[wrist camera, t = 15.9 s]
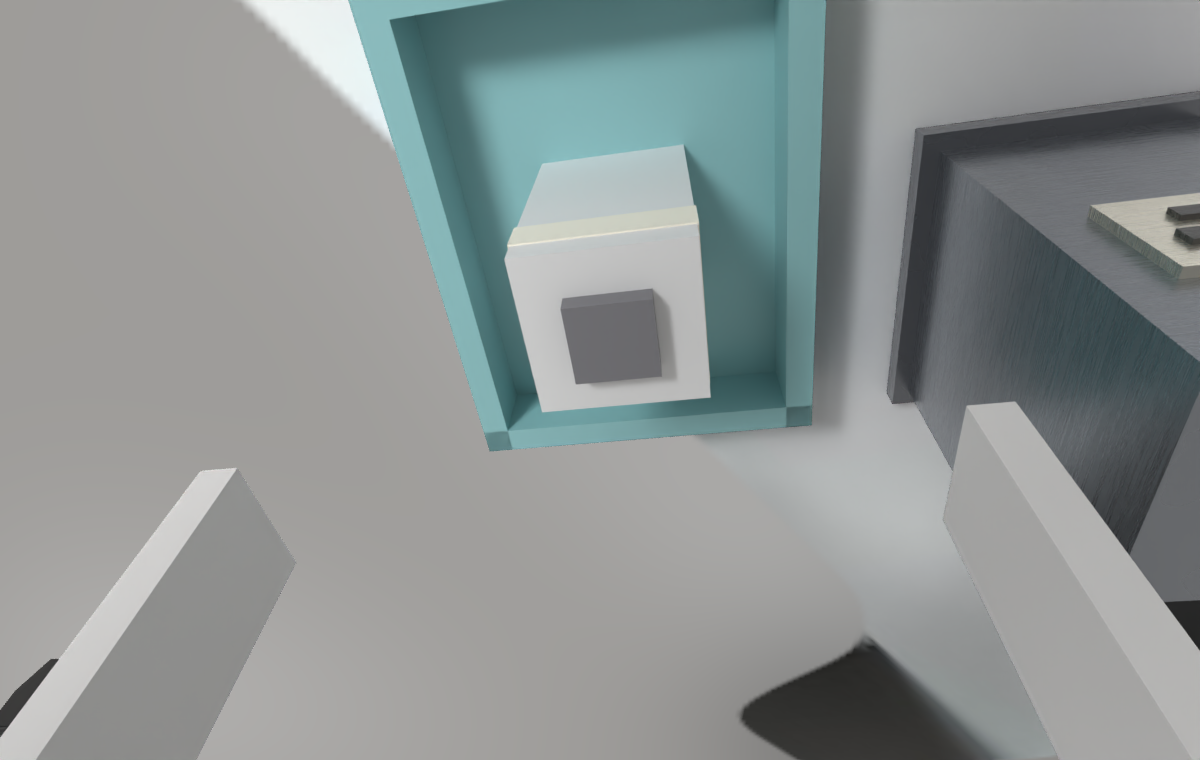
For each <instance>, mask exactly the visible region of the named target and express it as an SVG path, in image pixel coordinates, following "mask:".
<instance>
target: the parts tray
mask: <svg viewBox="0 0 1200 760" xmlns="http://www.w3.org/2000/svg"><path fill="white" fill-rule="evenodd" d="M348 1H349V4H350V7H351V10H352V13H353V17H354V20H355V23H356V26H357V29H358V33H359V36H360V39H361V42H362V45H363V48H364V52H365V55H366V58H367V61H368V64H369V68H370V71H371V74H372V77H373V80H374V83H375V87H376V90H377V93H378V96H379V99H380V103H381V106H382V109H383V112H384V115H385V119H386V122H387V125H388V128H389V131H390V134H391V138H392V141H393V144H394V147H395V150H396V154H397V157H398V160H399V163H400V166H401V169H402V173H403V176H404V179H405V182H406V185H407V188H408V192H409V195H410V198H411V201H412V205H413V208H414V211H415V214H416V217H417V221H418V224H419V227H420V230H421V233H422V236H423V240H424V242H425V246H426V249H427V252H428V256H429V259H430V262H431V265H432V268H433V271H434V274H435V278H436V281H437V284H438V287H439V291H440V293H441V297H442V300H443V303H444V307H445V310H446V313H447V316H448V319H449V322H450V325H451V329H452V332H453V335H454V338H455V341H456V345H457V348H458V351H459V354H460V358H461V361H462V364H463V367H464V370H465V373H466V377H467V380H468V383H469V386H470V389H471V392H472V396H473V399H474V402H475V405H476V409H477V412H478V415H479V418H480V421H481V425H482V428H483V431H484V434H485V437H486V440H487V444H488V447H489V450H490V451H500V450H512V449H524V448H537V447H549V446H562V445H574V444H586V443H598V442H611V441H623V440H636V439H648V438H660V437H673V436H684V435H698V434H710V433H722V432H735V431H747V430H759V429H772V428H784V427H796V426H809V425H812V399H813V369H814V340H815V311H816V282H817V252H818V223H819V194H820V165H821V135H822V106H823V77H824V48H825V18H826V0H348ZM683 144H684V150H685V156H686V162H687V168H688V173H689V179H690V185H691V191H692V197H693V203H694V205H696V208H697V214H698V219H699V230H700V244H701V258H702V272H703V286H704V300H705V315H706V329H707V343H708V357H709V371H710V394H711V397H710V398H699V399H688V400H676V401H665V402H654V403H642V404H631V405H620V406H608V407H597V408H586V409H575V410H563V411H552V412H542V410H541V406H540V402H539V398H538V394H537V390H536V386H535V382H534V378H533V374H532V370H531V365H530V361H529V357H528V353H527V349H526V345H525V341H524V337H523V333H522V329H521V325H520V321H519V317H518V313H517V309H516V305H515V301H514V297H513V293H512V289H511V285H510V281H509V277H508V273H507V269H506V265H505V261H504V258H505V256H506V253H507V251H508V247H507V244H508V241H509V239H510V236H511V234H512V231H513V229H514V228H516V227H517V226H518V223H519V221H520V218H521V216H522V213H523V211H524V208H525V206H526V203H527V200H528V198H529V195H530V193H531V190H532V188H533V185H534V183H535V180H536V178H537V175H538V173H539V170H540V168H541V165H542V164H544V163H551V162H559V161H566V160H573V159H581V158H588V157H595V156H603V155H610V154H617V153H625V152H632V151H639V150H647V149H654V148H661V147H669V146H676V145H683Z"/></svg>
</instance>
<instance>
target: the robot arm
mask: <svg viewBox="0 0 1200 760" xmlns="http://www.w3.org/2000/svg"><path fill="white" fill-rule="evenodd" d="M943 521H944V523H945V525H946V527H947V529H948V531H949V533H950V535H951V537H952V540H953V542H954V544H955V546H956V548H957V550H958V552H959V554H960V556H961V558H962V560H963V562H964V564H965V566H966V568H967V570H968V573H969V575H970V577H971V579H972V581H973V583H974V585H975V587H976V589H977V591H978V593H979V595H980V597H981V599H982V601H983V603H984V605H985V608H986V610H987V612H988V614H989V616H990V618H991V620H992V622H993V624H994V626H995V628H996V630H997V632H998V634H999V636H1000V638H1001V641H1002V643H1003V645H1004V647H1005V649H1006V651H1007V653H1008V655H1009V657H1010V659H1011V661H1012V663H1013V665H1014V667H1015V669H1016V671H1017V673H1018V676H1019V678H1020V680H1021V682H1022V684H1023V686H1024V688H1025V690H1026V692H1027V694H1028V696H1029V698H1030V700H1031V702H1032V704H1033V706H1034V709H1035V711H1036V713H1037V715H1038V717H1039V719H1040V721H1041V723H1042V725H1043V727H1044V729H1045V731H1046V733H1047V735H1048V737H1049V739H1050V741H1051V744H1052V746H1053V748H1054V750H1055V752H1056V754H1057V756H1058V758H1059V760H1200V600H1194V601H1174V602H1163V600H1162V599H1161V598H1160V596H1159V595H1158V594H1157V592H1156V591H1155V590H1154V588H1153V587H1152V585H1151V584H1150V583H1149V581H1148V580H1147V579H1146V577H1145V576H1144V575H1143V573H1142V572H1141V571H1140V569H1139V568H1138V567H1137V565H1136V564H1135V562H1134V561H1133V560H1132V558H1131V557H1130V556H1129V554H1128V553H1127V552H1126V550H1125V549H1124V548H1123V546H1122V545H1121V544H1120V542H1119V541H1118V539H1117V538H1116V537H1115V535H1114V534H1113V533H1112V531H1111V530H1110V529H1109V527H1108V526H1107V525H1106V523H1105V522H1104V521H1103V519H1102V518H1101V516H1100V515H1099V514H1098V512H1097V511H1096V510H1095V508H1094V507H1093V506H1092V504H1091V503H1090V502H1089V500H1088V499H1087V498H1086V496H1085V495H1084V493H1083V492H1082V491H1081V489H1080V488H1079V487H1078V485H1077V484H1076V483H1075V481H1074V480H1073V479H1072V477H1071V476H1070V475H1069V473H1068V472H1067V471H1066V469H1065V468H1064V466H1063V465H1062V464H1061V462H1060V461H1059V460H1058V458H1057V457H1056V456H1055V454H1054V453H1053V452H1052V450H1051V449H1050V448H1049V446H1048V445H1047V443H1046V442H1045V441H1044V439H1043V438H1042V437H1041V435H1040V434H1039V433H1038V431H1037V430H1036V429H1035V427H1034V426H1033V425H1032V423H1031V422H1030V420H1029V419H1028V418H1027V416H1026V415H1025V414H1024V412H1023V411H1022V410H1021V408H1020V407H1019V406H1018V404H1017V403H1016V402H1003V403H991V404H980V405H968V406H966V410H965V415H964V420H963V425H962V429H961V434H960V439H959V444H958V449H957V454H956V458H955V463H954V468H953V473H952V478H951V483H950V488H949V492H948V497H947V502H946V507H945V512H944V517H943ZM295 564H296V561H295V559H294V558H293V556H292V555H291V553H290V551H289V550H288V548H287V547H286V545H285V543H284V542H283V540H282V539H281V537H280V535H279V534H278V532H277V531H276V529H275V527H274V526H273V524H272V523H271V521H270V520H269V518H268V516H267V515H266V513H265V511H264V510H263V508H262V507H261V505H260V504H259V502H258V500H257V498H256V497H255V495H254V494H253V492H252V491H251V489H250V487H249V486H248V484H247V482H246V481H245V479H244V478H243V476H242V474H241V473H240V471H239V470H238V468H230V469H219V470H207V471H200V472H199V474H198V475H197V476H196V478H195V479H194V480H193V482H192V483H191V485H190V486H189V487H188V488H187V490H186V491H185V492H184V494H183V495H182V496H181V498H180V499H179V500H178V502H177V503H176V504H175V506H174V507H173V508H172V510H171V511H170V512H169V514H168V515H167V516H166V518H165V519H164V520H163V522H162V523H161V524H160V526H159V527H158V528H157V530H156V531H155V532H154V534H153V535H152V536H151V538H150V539H149V540H148V542H147V543H146V544H145V546H144V547H143V548H142V550H141V551H140V552H139V554H138V555H137V556H136V558H135V559H134V560H133V562H132V563H131V564H130V566H129V567H128V568H127V570H126V571H125V572H124V574H123V575H122V576H121V578H120V579H119V580H118V582H117V583H116V584H115V586H114V587H113V588H112V590H111V591H110V592H109V594H108V595H107V596H106V597H105V599H104V600H103V602H102V603H101V604H100V606H99V607H98V608H97V609H96V611H95V612H94V614H93V615H92V616H91V617H90V619H89V620H88V621H87V623H86V624H85V625H84V627H83V628H82V629H81V631H80V632H79V633H78V635H77V636H76V638H75V639H74V640H73V641H72V643H71V644H70V646H69V647H68V648H67V649H66V651H65V652H64V654H63V655H62V656H61V657H60V659H51V660H49V661H48V662H47V663H46V664H45V665H44V666H43V667H42V668H40V669H39V670H38V671H37V672H36V673H35V674H34V675H33V676H32V677H30V678H29V679H28V680H27V681H26V682H25V683H24V684H22V685H21V686H20V687H19V688H18V689H17V690H16V691H15V692H14V693H13V694H12V696H11V697H10V698H9V700H8V701H7V702H6V703H5V705H4V706H3V707H2V709H1V710H0V760H196V759H197V758H198V756H199V754H200V751H201V750H202V748H203V746H204V744H205V742H206V740H207V738H208V736H209V734H210V732H211V730H212V728H213V726H214V724H215V722H216V720H217V718H218V716H219V714H220V712H221V710H222V708H223V706H224V704H225V702H226V700H227V698H228V696H229V694H230V692H231V690H232V688H233V686H234V684H235V682H236V680H237V679H238V677H239V674H240V672H241V671H242V669H243V667H244V665H245V663H246V661H247V659H248V657H249V655H250V653H251V651H252V649H253V647H254V645H255V643H256V641H257V639H258V637H259V635H260V633H261V631H262V629H263V627H264V625H265V623H266V621H267V619H268V617H269V615H270V613H271V611H272V609H273V608H274V605H275V603H276V601H277V600H278V597H279V596H280V594H281V592H282V590H283V588H284V586H285V584H286V582H287V580H288V578H289V576H290V574H291V572H292V570H293V568H294V566H295Z"/></svg>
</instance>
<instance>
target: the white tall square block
mask: <svg viewBox="0 0 1200 760" xmlns="http://www.w3.org/2000/svg"><path fill="white" fill-rule="evenodd" d="M507 247H508V251H507V253H506V256H505V258H504V261H505V265H506V269H507V273H508V277H509V281H510V285H511V289H512V293H513V297H514V301H515V305H516V309H517V313H518V317H519V321H520V325H521V329H522V333H523V337H524V341H525V345H526V349H527V353H528V357H529V361H530V365H531V370H532V374H533V378H534V382H535V386H536V390H537V394H538V398H539V402H540V406H541V410H542V412H552V411H563V410H575V409H586V408H597V407H608V406H620V405H631V404H642V403H654V402H665V401H676V400H688V399H699V398H710V397H711V394H710V371H709V357H708V343H707V329H706V315H705V300H704V286H703V272H702V258H701V244H700V230H699V219H698V214H697V208H696V205H694V203H693V197H692V191H691V185H690V179H689V173H688V168H687V162H686V156H685V150H684V144H683V145H676V146H669V147H661V148H654V149H647V150H639V151H632V152H625V153H617V154H610V155H603V156H595V157H588V158H581V159H573V160H566V161H559V162H551V163H544V164H542V165H541V168H540V170H539V173H538V175H537V178H536V180H535V183H534V185H533V188H532V190H531V193H530V195H529V198H528V200H527V203H526V206H525V208H524V211H523V213H522V216H521V218H520V221H519V223H518V226H517V227H516V228H514V229H513V231H512V234H511V236H510V239H509V241H508V244H507Z"/></svg>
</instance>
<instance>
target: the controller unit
mask: <svg viewBox="0 0 1200 760" xmlns="http://www.w3.org/2000/svg"><path fill="white" fill-rule="evenodd" d="M887 394H888V396H889V398H890V400H891V402H892V404H896V403H908V402H915V404H916V405H917V407H918V409H919V411H920V413H921V415H922V416H923V418H924V420H925V422H926V424H927V425H928V427H929V429H930V431H931V433H932V434H933V436H934V438H935V440H936V442H937V444H938V445H939V447H940V449H941V451H942V453H943V454H944V456H945V458H946V460H947V462H948V464H949V465H950V467H951V469H952V471H953V468H954V463H955V458H956V454H957V449H958V444H959V439H960V434H961V429H962V425H963V420H964V415H965V410H966V406H968V405H980V404H991V403H1003V402H1016V403H1017V404H1018V406H1019V407H1020V408H1021V410H1022V411H1023V412H1024V414H1025V415H1026V416H1027V418H1028V419H1029V420H1030V422H1031V423H1032V425H1033V426H1034V427H1035V429H1036V430H1037V431H1038V433H1039V434H1040V435H1041V437H1042V438H1043V439H1044V441H1045V442H1046V443H1047V445H1048V446H1049V448H1050V449H1051V450H1052V452H1053V453H1054V454H1055V456H1056V457H1057V458H1058V460H1059V461H1060V462H1061V464H1062V465H1063V466H1064V468H1065V469H1066V471H1067V472H1068V473H1069V475H1070V476H1071V477H1072V479H1073V480H1074V481H1075V483H1076V484H1077V485H1078V487H1079V488H1080V489H1081V491H1082V492H1083V493H1084V495H1085V496H1086V498H1087V499H1088V500H1089V502H1090V503H1091V504H1092V506H1093V507H1094V508H1095V510H1096V511H1097V512H1098V514H1099V515H1100V516H1101V518H1102V519H1103V521H1104V522H1105V523H1106V525H1107V526H1108V527H1109V529H1110V530H1111V531H1112V533H1113V534H1114V535H1115V537H1116V538H1117V539H1118V541H1119V542H1120V544H1121V545H1122V546H1123V548H1124V549H1125V550H1126V552H1127V553H1128V554H1129V556H1130V557H1131V558H1132V560H1133V561H1134V562H1135V564H1136V565H1137V567H1138V568H1139V569H1140V571H1141V572H1142V573H1143V575H1144V576H1145V577H1146V579H1147V580H1148V581H1149V583H1150V584H1151V585H1152V587H1153V588H1154V590H1155V591H1156V592H1157V594H1158V595H1159V596H1160V598H1161V599H1162V600H1163V602H1174V601H1194V600H1200V91H1198V92H1190V93H1183V94H1175V95H1168V96H1160V97H1152V98H1145V99H1137V100H1130V101H1122V102H1115V103H1107V104H1100V105H1092V106H1085V107H1077V108H1069V109H1062V110H1054V111H1047V112H1039V113H1032V114H1024V115H1017V116H1009V117H1001V118H994V119H986V120H979V121H971V122H964V123H956V124H949V125H941V126H933V127H926V128H918V129H916V131H915V140H914V149H913V159H912V168H911V177H910V186H909V195H908V204H907V213H906V222H905V231H904V241H903V250H902V259H901V268H900V277H899V286H898V295H897V304H896V313H895V323H894V332H893V341H892V350H891V359H890V368H889V377H888V386H887Z"/></svg>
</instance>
